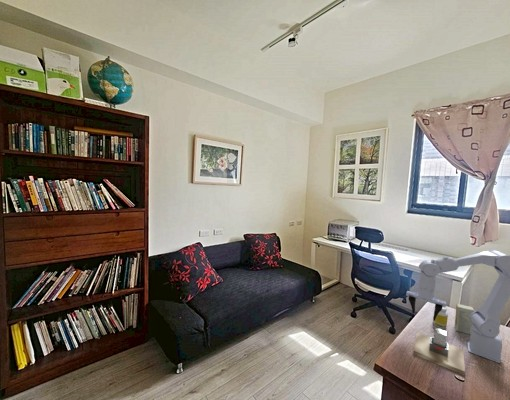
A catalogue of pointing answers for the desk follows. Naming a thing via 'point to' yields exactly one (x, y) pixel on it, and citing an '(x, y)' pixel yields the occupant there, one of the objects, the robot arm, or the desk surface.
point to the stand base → (451, 362)
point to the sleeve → (438, 348)
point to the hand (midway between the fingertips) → (423, 316)
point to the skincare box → (463, 318)
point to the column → (439, 337)
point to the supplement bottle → (441, 318)
